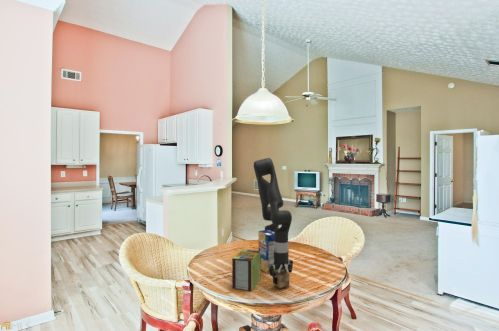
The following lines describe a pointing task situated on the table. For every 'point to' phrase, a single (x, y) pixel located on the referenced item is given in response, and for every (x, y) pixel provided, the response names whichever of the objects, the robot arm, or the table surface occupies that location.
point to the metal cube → (282, 279)
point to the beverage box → (266, 249)
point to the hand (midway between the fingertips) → (280, 282)
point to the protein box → (246, 269)
